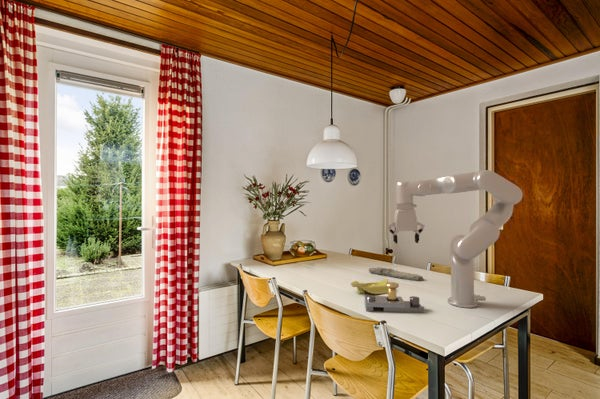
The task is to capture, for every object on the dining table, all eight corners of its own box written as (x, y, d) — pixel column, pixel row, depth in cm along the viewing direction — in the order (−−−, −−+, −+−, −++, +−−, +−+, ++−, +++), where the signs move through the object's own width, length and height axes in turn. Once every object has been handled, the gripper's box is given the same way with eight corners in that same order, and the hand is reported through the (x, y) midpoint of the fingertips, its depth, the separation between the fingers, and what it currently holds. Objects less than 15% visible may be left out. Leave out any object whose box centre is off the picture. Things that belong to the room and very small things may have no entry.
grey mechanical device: (417, 305, 148) (417, 294, 148) (423, 312, 139) (423, 301, 139) (364, 304, 150) (364, 293, 150) (366, 311, 141) (366, 300, 141)
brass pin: (397, 306, 147) (397, 282, 147) (400, 310, 141) (399, 285, 141) (385, 306, 148) (384, 282, 148) (386, 310, 142) (386, 285, 142)
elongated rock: (418, 285, 186) (425, 282, 193) (419, 276, 186) (425, 273, 193) (365, 273, 209) (372, 271, 216) (365, 264, 209) (373, 263, 216)
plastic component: (377, 282, 179) (388, 278, 171) (380, 296, 176) (392, 292, 168) (347, 284, 171) (357, 280, 163) (349, 298, 168) (360, 295, 159)
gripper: (421, 206, 158) (422, 241, 158) (385, 207, 159) (386, 242, 159) (426, 207, 150) (427, 243, 150) (388, 208, 152) (389, 244, 152)
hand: (406, 242), depth 155 cm, fingers open, 9 cm apart
